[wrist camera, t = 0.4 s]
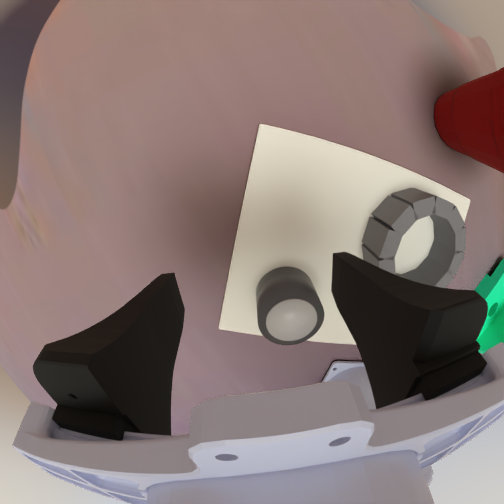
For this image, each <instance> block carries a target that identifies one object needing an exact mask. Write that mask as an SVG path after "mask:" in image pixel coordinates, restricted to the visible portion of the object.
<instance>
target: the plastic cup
mask: <svg viewBox="0 0 504 504" xmlns="http://www.w3.org/2000/svg"><path fill="white" fill-rule="evenodd" d="M434 119H435V124H436V128H437V131H438V133H439V135H440V137H441V139H442V140H443V141H444V142H445V143H446V145H447V146H449V147H451V148H452V149H454V150H456V151H458V152H460V153H463V154H465V155H468V156H470V157H472V158H473V159H475V160H477V161H479V162H481V163H483V164H486V165H488V166H490V167H492V168H494V169H496V170H498V171H500V172H502V173H504V67H503V68H501V69H500V70H498V71H496V72H493V73H491V74H488V75H485V76H483V77H480V78H478V79H475V80H473V81H470V82H468V83H465V84H463V85H462V86H460V87H458V88H456V89H453V90H451V91H448V92H447V93H445V94H443V95H442V96H441V97H439V98H438V100H437V102H436V104H435V111H434Z"/></svg>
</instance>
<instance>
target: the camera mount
mask: <svg viewBox="0 0 504 504" xmlns="http://www.w3.org/2000/svg"><path fill="white" fill-rule="evenodd" d="M474 291H476V292H478V293H479V294H480V295H481V296H482V297H483V298H484V299H485V300H486V302H487V303H488V313H487V317H486V320H485V323H484V325H483V327H482V330H481V332H480V334H479V336H478V338H477V340H476V341H477V342H478V343H479V344H480V349H479V350H478V351H479V353H485V352H486V351H487V350H488V349H490V348H492V347H494V346H495V345H497V344H499V343H500V342H503V343H504V259H503V260H502V261H501V262H500V264H499V265H498V267H497V268H496V270H495V271H494V273H493V274H492V276H491V277H490V276H489V275H487V274H486V275H485V277H484V278H483V280H482V281H481V282H480V284H479V285H478V286H477V288H476V289H475V290H474Z"/></svg>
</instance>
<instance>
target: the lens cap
mask: <svg viewBox="0 0 504 504" xmlns="http://www.w3.org/2000/svg"><path fill="white" fill-rule="evenodd" d="M256 305H257V320H258V327H259V330H260V332H261V333H262V335H263V336H264V337H265V338H267V339H268V340H269V341H271V342H274V343H276V344H281V345H293V344H298V343H301V342H304V341H306V340H308V339H309V338H311V337H312V336H314V335H315V334H316V333H317V332H318V330H319V329H320V327H321V326H322V324H323V321H324V309H323V306H322V303H321V301H320V299H319V297H318V294H317V292H316V290H315V288H314V286H313V283H312V281H311V279H310V278H309V276H308V275H307V274H306V273H305V272H304V271H302V270H300V269H298V268H295V267H279V268H276V269H273V270H271V271H269V272H268V273H266V274H265V275H264V276H263V277H262V278H261V280H260V281H259V283H258V285H257V288H256Z"/></svg>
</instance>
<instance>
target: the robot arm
mask: <svg viewBox="0 0 504 504" xmlns="http://www.w3.org/2000/svg"><path fill="white" fill-rule="evenodd" d="M331 292H332V295H333V298H334V300H335V303H336V306H337V308H338V310H339V312H340V314H341V316H342V318H343V320H344V322H345V323H346V325H347V327H348V329H349V331H350V333H351V335H352V337H353V339H354V340H355V342H356V345H357V347H358V349H359V352H360V354H361V357H362V360H363V362H352V361H335V362H333V363H332V365H331V366H330V368H329V370H328V372H327V374H326V376H325V377H324V379H323V381H322V382H321V383H316V384H311V385H306V386H300V387H294V388H287V389H280V390H273V391H265V392H256V393H247V394H235V395H224V396H220V397H215V398H210V399H206V400H204V401H202V402H201V403H199V404H198V405H197V406H195V407H194V408H193V409H192V411H191V422H190V433H189V434H187V435H180V436H171V391H172V378H173V370H174V364H175V360H176V355H177V351H178V347H179V343H180V338H181V334H182V329H183V322H184V311H185V309H184V305H183V302H182V299H181V295H180V292H179V288H178V285H177V281H176V278H175V274H174V273H168V274H161V275H160V276H158V277H157V278H156V279H155V280H153V281H152V282H151V283H150V284H149V285H148V286H147V287H145V288H144V289H143V290H142V291H141V292H140V293H139V294H137V295H136V296H135V297H134V298H133V299H131V300H130V301H129V302H128V303H126V304H125V305H124V306H123V307H121V308H120V309H119V310H117V311H116V312H115V313H113V314H112V315H110V316H109V317H107V318H105V319H104V320H102V321H100V322H99V323H97V324H95V325H93V326H91V327H90V328H88V329H86V330H84V331H81V332H79V333H77V334H75V335H72V336H70V337H67V338H65V339H62V340H59V341H56V342H52V343H49V344H46V345H45V346H44V348H43V349H42V351H41V352H40V354H39V356H38V357H37V359H36V361H35V362H34V365H33V371H34V374H35V376H36V378H37V380H38V381H39V383H40V384H41V385H42V387H43V388H44V389H45V390H46V391H47V393H48V394H49V395H50V396H51V397H52V398H53V400H54V401H55V402H56V403H57V404H58V405H57V407H56V409H55V410H54V409H53V408H51V407H49V406H46V405H43V404H39V403H36V402H31V403H30V405H29V407H28V410H27V412H26V414H25V416H24V418H23V421H22V423H21V425H20V428H19V430H18V432H17V435H16V437H15V440H14V443H13V448H14V449H16V450H17V451H18V452H19V453H21V454H22V455H23V456H25V457H26V458H27V459H29V460H30V461H31V462H33V463H34V464H36V465H37V466H38V467H40V468H41V469H43V470H44V471H46V472H47V473H49V474H50V475H52V476H54V477H56V478H59V479H61V480H64V481H66V482H68V483H71V484H73V485H76V486H79V487H81V488H84V489H87V490H89V491H92V492H95V493H98V494H101V495H104V496H107V497H110V498H113V499H116V500H120V501H124V502H127V503H131V504H434V501H433V499H432V496H431V493H430V490H429V487H428V486H429V484H430V483H431V481H432V475H433V470H432V467H431V465H432V464H434V463H435V462H437V461H439V460H441V459H442V458H444V457H446V456H447V455H449V454H450V453H452V452H454V451H455V450H457V449H458V448H460V447H461V446H463V445H464V444H466V443H467V442H469V441H470V440H472V439H473V438H474V437H475V436H477V435H478V434H480V433H481V432H482V431H484V430H485V429H487V428H488V427H489V426H491V425H492V424H493V423H495V422H496V421H497V420H498V419H500V418H501V417H502V416H503V415H504V343H503V342H500V343H499V344H497V345H495V346H494V347H492V348H490V349H488V350H487V351H486V352H485V353H484V354H483V355H481V354H480V353H479V351H478V350H479V349H480V344H479V343H478V342H477V341H476V340H477V338H478V336H479V334H480V332H481V330H482V327H483V325H484V323H485V320H486V317H487V313H488V303H487V302H486V300H485V299H484V298H483V297H482V296H481V295H480V294H479V293H478V292H476V291H473V290H456V289H448V288H441V287H435V286H431V285H426V284H422V283H418V282H415V281H412V280H409V279H406V278H403V277H400V276H397V275H395V274H392V273H390V272H388V271H386V270H383V269H381V268H379V267H377V266H375V265H373V264H371V263H369V262H367V261H365V260H363V259H361V258H359V257H357V256H355V255H353V254H350V253H348V252H338V253H333V261H332V285H331Z"/></svg>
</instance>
